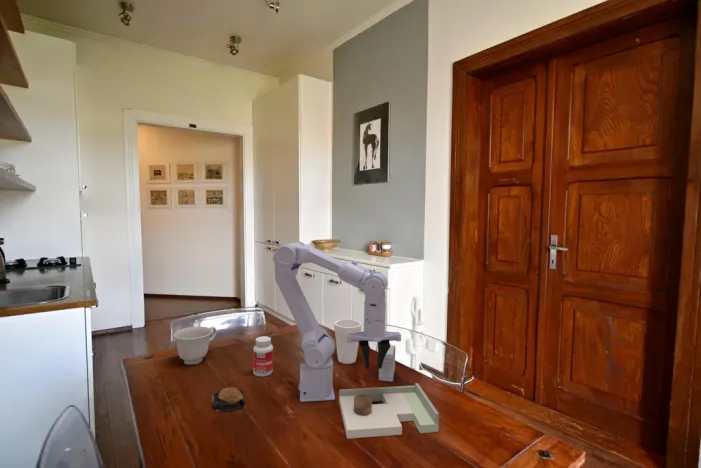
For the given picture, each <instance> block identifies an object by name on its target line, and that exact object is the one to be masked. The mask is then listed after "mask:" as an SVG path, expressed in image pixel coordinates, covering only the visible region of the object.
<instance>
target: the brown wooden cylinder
mask: <svg viewBox="0 0 701 468" xmlns="http://www.w3.org/2000/svg"><path fill="white" fill-rule="evenodd" d="M372 405H373V401H372V398H371V397H370V396H368V395H357V396H355V397H354V412H355V413H356V414H357V415H360V416H366V415H369V414H371V412H372Z"/></svg>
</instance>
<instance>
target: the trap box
mask: <svg viewBox="0 0 701 468" xmlns="http://www.w3.org/2000/svg"><path fill="white" fill-rule="evenodd" d="M357 395H368V396H370V397H371V398H372V402H382V403H377V404H376V403H375V404H373V403H372V412H371V414H369V415H366V416H360V415H357V414H356V413H355V412H354V397H355V396H357ZM338 403H339V408H340V413H341V418H342V422H343V426H344V427H343V428H344V432H345V435H346V439H359V438H360V439H361V438H373V437H374V438H377V437H388V436H401V435H403V426H402V425H403V424H402V423H401V422H404V423H405V422H413V423H414V425H415V426H416V429H417V430H418V432H419V434H429V433H430V434H431V433H439V428H440V427H439V425H440V424H439V421H440V413H439V412H438V410H437V408H436V407H435V406H434V405H433V403H432V401H431V400H430V399H429V397H428V396H427V394H426V393H425V391H424V390H423V388H422V387H421V385H420V384H419V383H418V382H416V383H414V385H402V386H401V385H400V386H399V385H398V386H384V387H383V386H380V387H365V388H364V387H362V388H361V387H359V388H348V389H347V388H345V389H339V390H338Z"/></svg>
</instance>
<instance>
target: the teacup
mask: <svg viewBox="0 0 701 468" xmlns="http://www.w3.org/2000/svg"><path fill="white" fill-rule="evenodd" d="M211 334H212V335H211ZM216 336H217V328H216V327H215V326H210V327H207V326H191V327H185V328H181V329H178V330H177V331H175V332H174V333H173V338H174V339H175V342H176V346H177V348H176V349H177V354H178V356H179V358H180V359H181V360H183V363H184V365H190V366H191V365H198V364H200V363H201V362H202V361H203V358H204V357H205V356H206V355H207V354H208V351H209V346H210V342H211V341H213V340H214V339H215V338H216Z"/></svg>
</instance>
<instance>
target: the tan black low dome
mask: <svg viewBox="0 0 701 468" xmlns="http://www.w3.org/2000/svg"><path fill="white" fill-rule="evenodd" d="M211 398H212V400H211V401H212V406H213V408H214V410H215V411H216V412H219V414H226V413H229V412H231V413H232V412H236V411H240V410H243V409H246V408H247V403H246V400H245V394H244V391H243V390H241V389H239V388H237V387H234V386H232V387H227V388H226V387H225V388H223V389H222V390H218V391H215V393H214V394H212V395H211Z"/></svg>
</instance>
